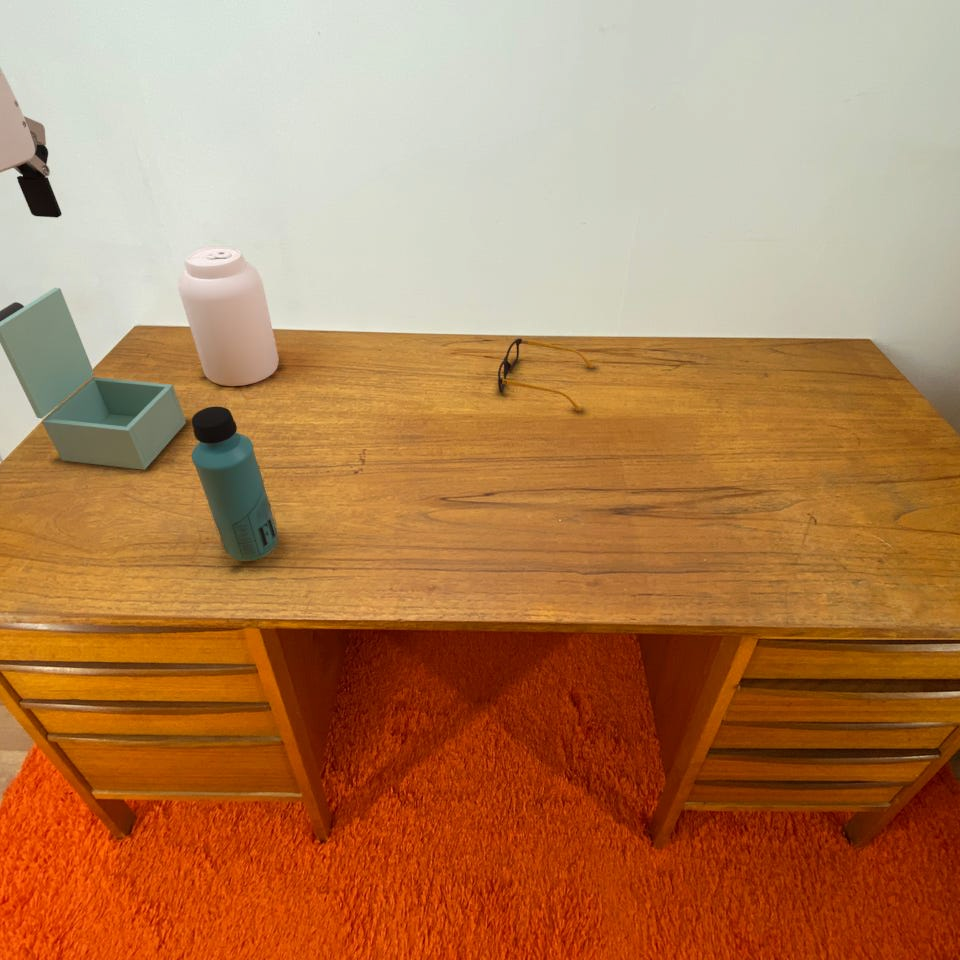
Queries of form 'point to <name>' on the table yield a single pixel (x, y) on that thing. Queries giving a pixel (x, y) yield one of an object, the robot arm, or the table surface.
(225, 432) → the beverage bottle
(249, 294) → the can
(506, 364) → the eyeglasses
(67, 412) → the cool box
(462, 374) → the table surface
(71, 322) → the lid
